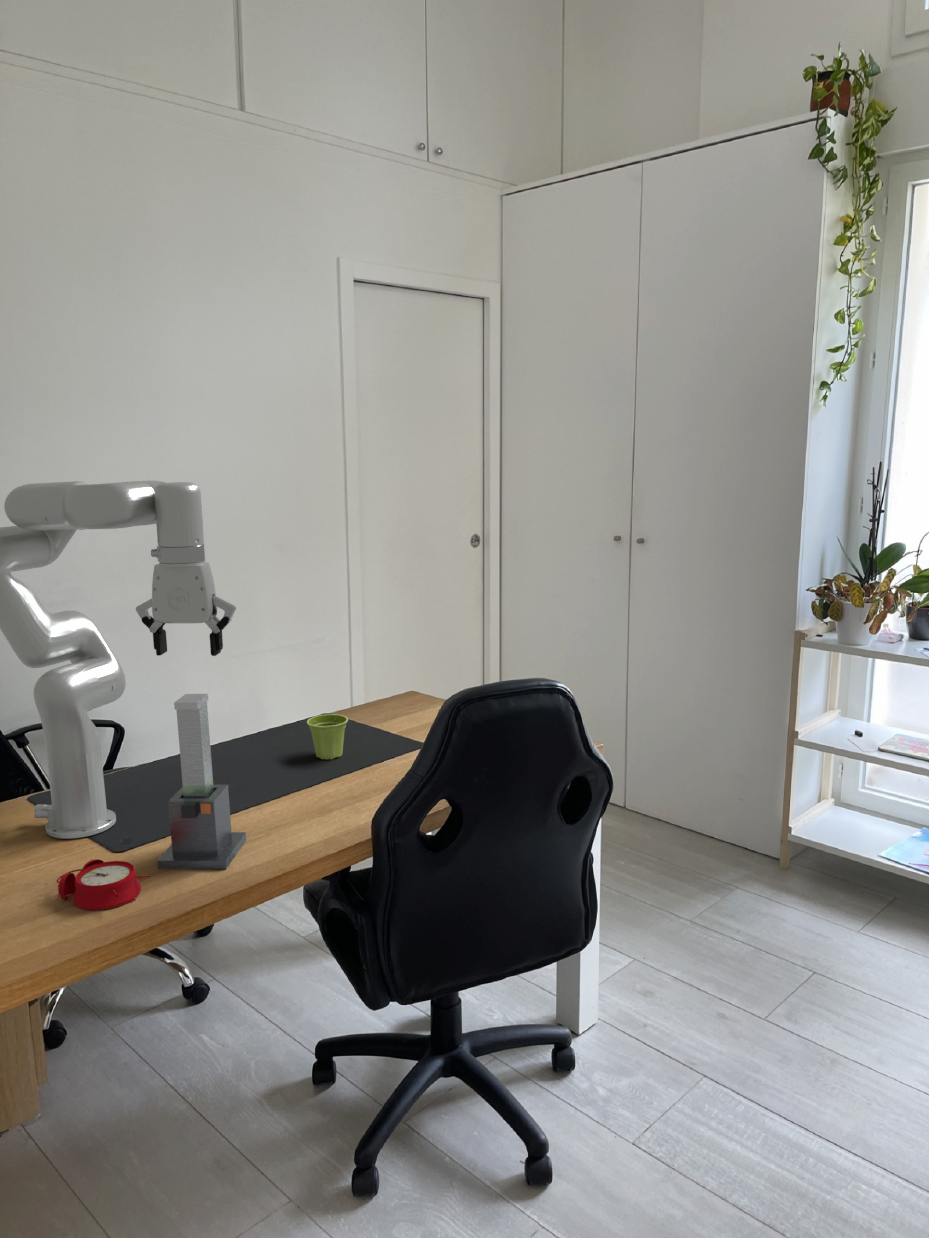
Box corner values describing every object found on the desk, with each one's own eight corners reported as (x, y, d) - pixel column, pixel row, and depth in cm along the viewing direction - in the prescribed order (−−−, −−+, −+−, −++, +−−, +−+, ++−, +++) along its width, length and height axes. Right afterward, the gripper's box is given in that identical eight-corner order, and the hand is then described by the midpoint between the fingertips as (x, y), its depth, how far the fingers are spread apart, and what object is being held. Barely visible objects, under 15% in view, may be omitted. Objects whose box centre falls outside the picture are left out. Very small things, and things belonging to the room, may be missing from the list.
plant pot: (346, 762, 213) (344, 725, 211) (305, 762, 213) (303, 726, 212) (352, 748, 222) (350, 713, 221) (312, 749, 222) (310, 714, 221)
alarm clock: (111, 896, 144) (39, 861, 149) (108, 931, 146) (37, 895, 151) (158, 868, 153) (89, 836, 159) (155, 901, 155) (86, 868, 160)
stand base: (157, 868, 161) (152, 805, 159) (182, 839, 173) (177, 780, 171) (226, 869, 160) (221, 805, 158) (246, 839, 172) (242, 780, 170)
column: (183, 820, 162) (174, 702, 159) (194, 807, 168) (185, 693, 164) (206, 820, 162) (197, 702, 158) (216, 807, 168) (207, 693, 164)
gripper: (123, 558, 156) (131, 658, 159) (224, 558, 154) (230, 659, 157) (142, 553, 163) (149, 649, 166) (238, 553, 162) (244, 649, 165)
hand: (188, 653), depth 162 cm, fingers open, 9 cm apart
